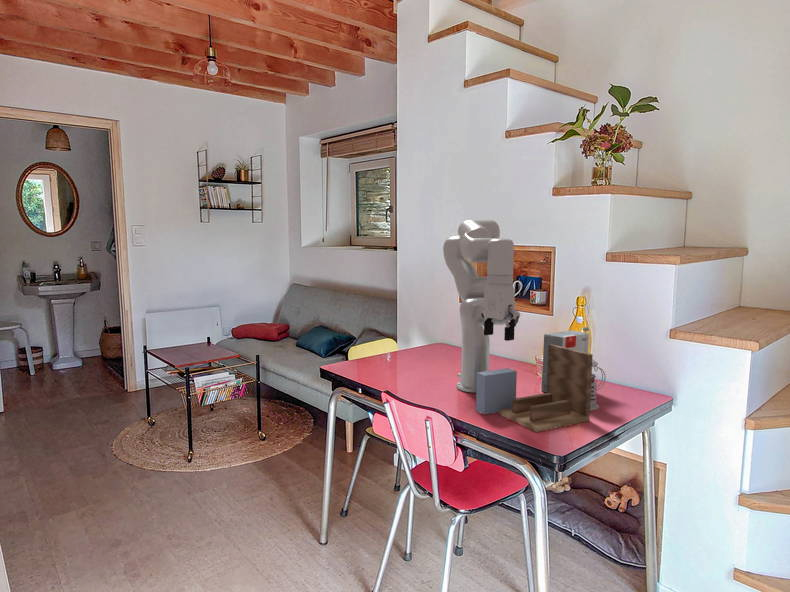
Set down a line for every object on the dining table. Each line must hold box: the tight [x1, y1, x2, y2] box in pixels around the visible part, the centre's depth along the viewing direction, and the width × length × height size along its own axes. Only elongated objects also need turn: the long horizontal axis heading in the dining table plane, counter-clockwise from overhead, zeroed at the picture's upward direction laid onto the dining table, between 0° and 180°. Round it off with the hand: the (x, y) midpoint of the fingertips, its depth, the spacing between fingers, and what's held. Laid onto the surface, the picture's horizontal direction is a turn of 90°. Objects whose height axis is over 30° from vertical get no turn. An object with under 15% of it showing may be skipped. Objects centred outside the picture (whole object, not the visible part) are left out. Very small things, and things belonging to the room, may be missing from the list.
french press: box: [582, 326, 607, 411], centre depth 167 cm, size 10×12×25 cm
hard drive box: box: [540, 330, 590, 393], centre depth 183 cm, size 16×8×20 cm, turn 126°
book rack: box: [498, 344, 593, 433], centre depth 155 cm, size 16×20×20 cm
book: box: [475, 367, 518, 415], centre depth 163 cm, size 4×12×12 cm, turn 117°
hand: (498, 337), depth 161 cm, fingers open, 9 cm apart
